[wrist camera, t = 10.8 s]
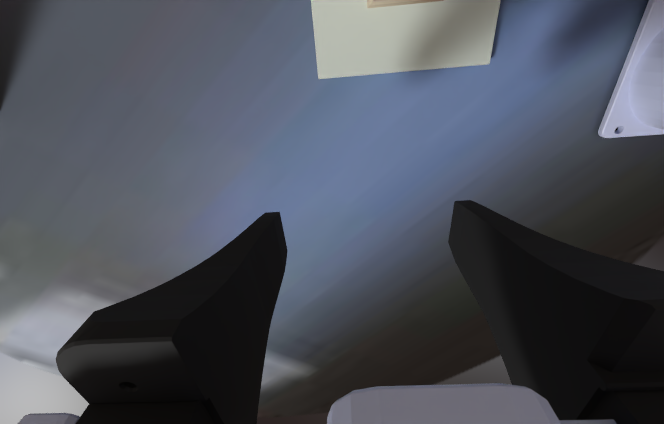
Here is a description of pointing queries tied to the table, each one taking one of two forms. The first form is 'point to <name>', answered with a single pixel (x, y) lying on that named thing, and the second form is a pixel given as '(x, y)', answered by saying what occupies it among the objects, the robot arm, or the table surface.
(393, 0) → the birch block
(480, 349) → the table surface
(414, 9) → the tile
